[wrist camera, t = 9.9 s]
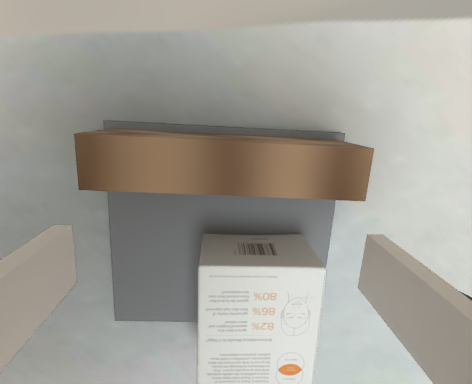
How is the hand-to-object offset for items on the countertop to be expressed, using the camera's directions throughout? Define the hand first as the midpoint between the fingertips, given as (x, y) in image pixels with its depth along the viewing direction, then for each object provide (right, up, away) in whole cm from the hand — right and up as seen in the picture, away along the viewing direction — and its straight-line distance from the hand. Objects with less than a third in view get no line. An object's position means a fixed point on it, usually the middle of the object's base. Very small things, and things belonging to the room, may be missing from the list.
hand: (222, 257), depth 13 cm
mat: (0, 0, +10) cm, 10 cm away
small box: (+2, -1, +7) cm, 7 cm away
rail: (0, +6, +9) cm, 10 cm away
